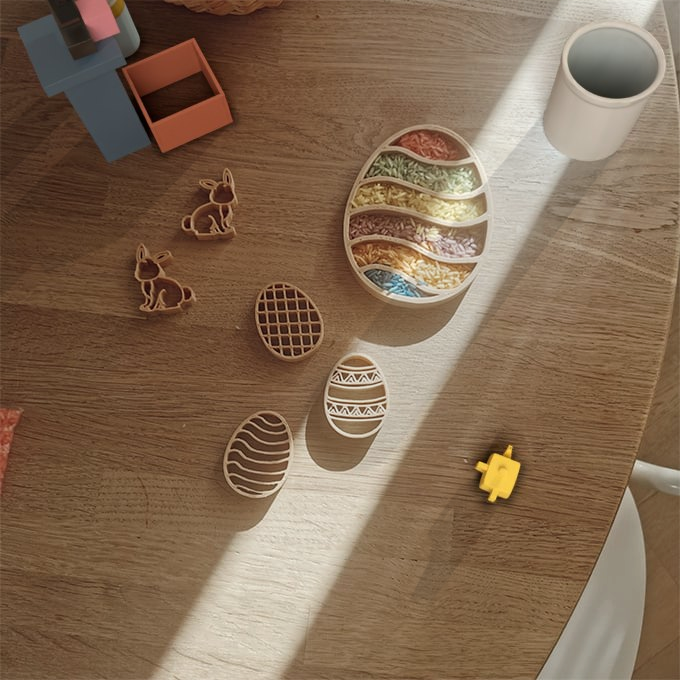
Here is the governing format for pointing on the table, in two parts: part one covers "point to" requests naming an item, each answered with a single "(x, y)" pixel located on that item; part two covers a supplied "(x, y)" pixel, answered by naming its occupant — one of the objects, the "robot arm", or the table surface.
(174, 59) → the bin
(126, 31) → the bottle
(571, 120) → the utensil holder
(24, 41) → the blue t-shaped block
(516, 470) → the teapot
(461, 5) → the table surface
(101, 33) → the pink rectangular block
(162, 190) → the table surface
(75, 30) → the dark grey angular piece
